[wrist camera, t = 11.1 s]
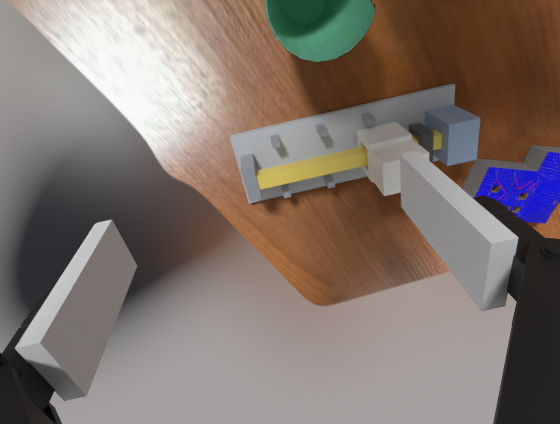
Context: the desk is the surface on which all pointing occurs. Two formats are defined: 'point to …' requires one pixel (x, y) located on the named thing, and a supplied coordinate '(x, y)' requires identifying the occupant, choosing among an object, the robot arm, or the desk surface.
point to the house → (520, 183)
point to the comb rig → (349, 142)
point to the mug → (319, 26)
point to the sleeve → (386, 154)
